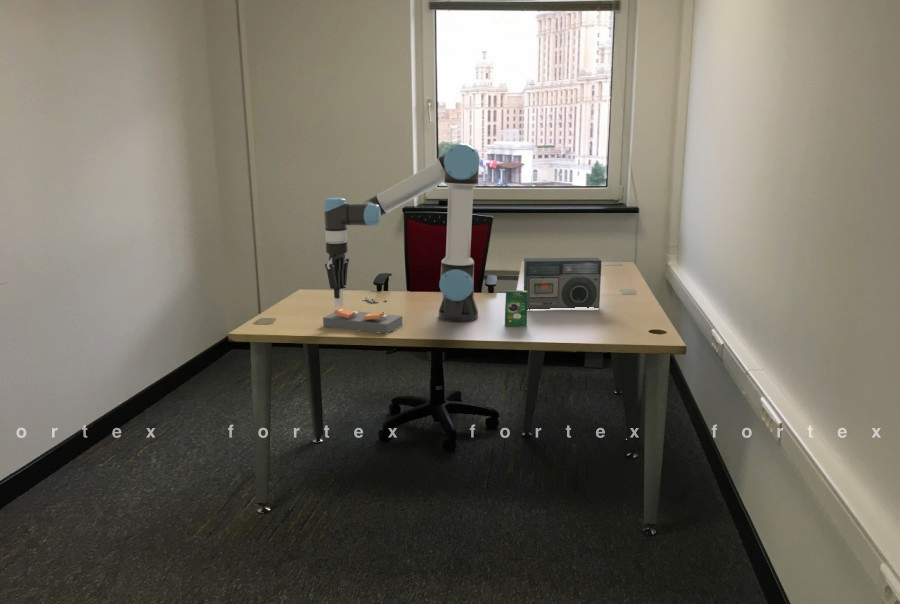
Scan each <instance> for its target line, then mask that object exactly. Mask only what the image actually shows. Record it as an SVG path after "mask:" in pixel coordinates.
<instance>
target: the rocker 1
mask: <svg viewBox="0 0 900 604" xmlns="http://www.w3.org/2000/svg"><path fill="white" fill-rule="evenodd" d="M353 311H354V310H350V309H346V308H343V307H338V309H335V310H334V311H333V313H334V314H336V315H340V316H343V317H346V318H350V317H352V316H354V315H355V312H353Z"/></svg>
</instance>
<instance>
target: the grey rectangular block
mask: <svg viewBox="0 0 900 604" xmlns="http://www.w3.org/2000/svg"><path fill="white" fill-rule="evenodd" d="M352 311H353V312H355V315H354V316H352V317H350V318H346V317H343V316H340V315H336V314H334V312H332V313H330V314H328V315H325V316H323V317H322V322H323V328H331V329H340V330H349V331H356V330H360V331H359V332H365V331H370V332H369V333H374V332H380V333H379V334H383V333H388V334H390V333H391V331H392V332H394V331H395V330H397V329H398V327H399V326H400V327H402V326H403V315H397V314H396V315H395V314H386V313H384V316H382V317H381V318H378V319H367V320H364V317H363V316H365V315H367V314H370V313H371V312H364V311H356V310H352ZM401 325H402V326H401ZM400 327H399V328H400ZM396 328H397V329H396ZM394 329H395V330H394ZM389 332H390V333H389Z"/></svg>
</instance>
